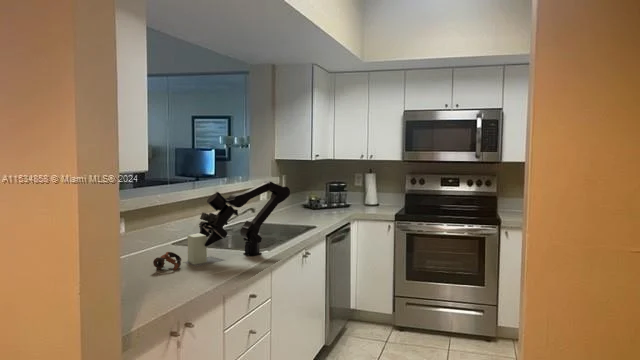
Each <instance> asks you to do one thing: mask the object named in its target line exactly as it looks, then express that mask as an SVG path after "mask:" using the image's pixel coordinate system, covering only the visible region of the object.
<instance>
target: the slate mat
mask: <svg viewBox="0 0 640 360" xmlns="http://www.w3.org/2000/svg"><path fill="white" fill-rule="evenodd" d="M223 261H225V259H223V258H219V257H216V256H215V257H214V256H211V255H210V256H207V262H206V263H200V264H192V263H190V262H188V260H187V261H183V262H182V263H184V264H188V265H190V266H193V267H194V266H195V267H202V266H206V265H211V264H215V263H219V262H223Z"/></svg>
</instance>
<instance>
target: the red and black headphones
mask: <svg viewBox="0 0 640 360" xmlns="http://www.w3.org/2000/svg"><path fill="white" fill-rule="evenodd" d="M174 258H175V259H174ZM165 261H166V262H167V263H170V264H171V265H173V268H172V271H176V270H178V269H179V268H180V267H181V264H182V263H181V262H182V257H181V256H180V255H178V254H176V253H175V252H172V251H165V253H164V254H163V255H161V256H160V257H156V258H154V260H153V262H152V263H153V266H154V267H155V268H156V270H158V271H159V270H160V271H161V270H162V268H163V267H164V265H165V264H166V262H165Z"/></svg>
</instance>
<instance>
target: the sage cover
mask: <svg viewBox="0 0 640 360" xmlns="http://www.w3.org/2000/svg"><path fill="white" fill-rule="evenodd" d="M186 237H187V238H186V239H187V261H188V262H190V263H192V264H200V263H206V262H207V257H208V256H207V253H208V252H207V250H208V249H207V247H206V246H205V243H206V241H207V237H206V235H203V234H199V233H194V234H193V233H191V234H187V236H186Z"/></svg>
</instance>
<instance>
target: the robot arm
mask: <svg viewBox="0 0 640 360" xmlns="http://www.w3.org/2000/svg"><path fill="white" fill-rule="evenodd" d="M266 192H270V193H271V195H270V198H269V199H268V200H267V202H266V203H265V204H264V206H263V207H262V208H261V209H260V210H259V212H258V213H257V214H256V215H255V217H254V218H253V219H252V220H251V221H249V220H246V221H245V222H244V224H243V225H241V227H240V230H239V233H240V236H241V237H242V239H243V242H244V241H245V242H244V243H245V245H244V252H243V255H244V256H250V257H254V256H258V255H262V254H263V253H262V252H261V251H260V243H261V242H262V240H263V239H262V237H261V236H260V235H259V233H260V231H261V230H260V229H261V227H262V225H263V224H264V222H265V221H266V220H267V219H268V218H269V216H270V215H271V214H272V212H273V211H274V210H275V209H276V207H277V206H278V205H279V204H281V203H283V202H284V201H286V200H287V198H289V196H290V195H291V191H290V188H289V187H287V186H285V185H279V184H276V183H274V182H273V181H270V180H269V181H268V180H266V181H264V182H263V183H260V184H258V185H256V186H254V187H251V188H250V189H247V190H245V191H242V192H237V193H236V192H235V193H233V194H230V195H228V197H224V196H222V194H221V193H220V192H219V191H216V192H215V193H213V194H212V195H210V196H209V197H208V198H207V200H206V203H207V204H208V205H209V206H211V208H212V209H214V210H215V211H216V212H217V211H218V212H217V214H215V213H213V212H209V213H206V212H201V214H200V217H199V220H200V222H199V223H198V227H199V233H198V234H203V235H206V238H207V239H206V243H205V246H206V248H207V247H208V246H210V245H212V244H214V243H216V242H218V241H220V240H223V239H225V238H227V237H228V231H226V229H225V228H224V227H225V226H227V225H228V224H229V223H228V222H229V220H230V219H231V218H232V216H237V217H238V216H239V212H238V210H239V209H236V208H242V207H243V206H245V205H246V204H248V202H249V201H250V200H252V199H254V198H255V197H258V196H260V195H262V194H264V193H266ZM201 220H202V221H201Z"/></svg>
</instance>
